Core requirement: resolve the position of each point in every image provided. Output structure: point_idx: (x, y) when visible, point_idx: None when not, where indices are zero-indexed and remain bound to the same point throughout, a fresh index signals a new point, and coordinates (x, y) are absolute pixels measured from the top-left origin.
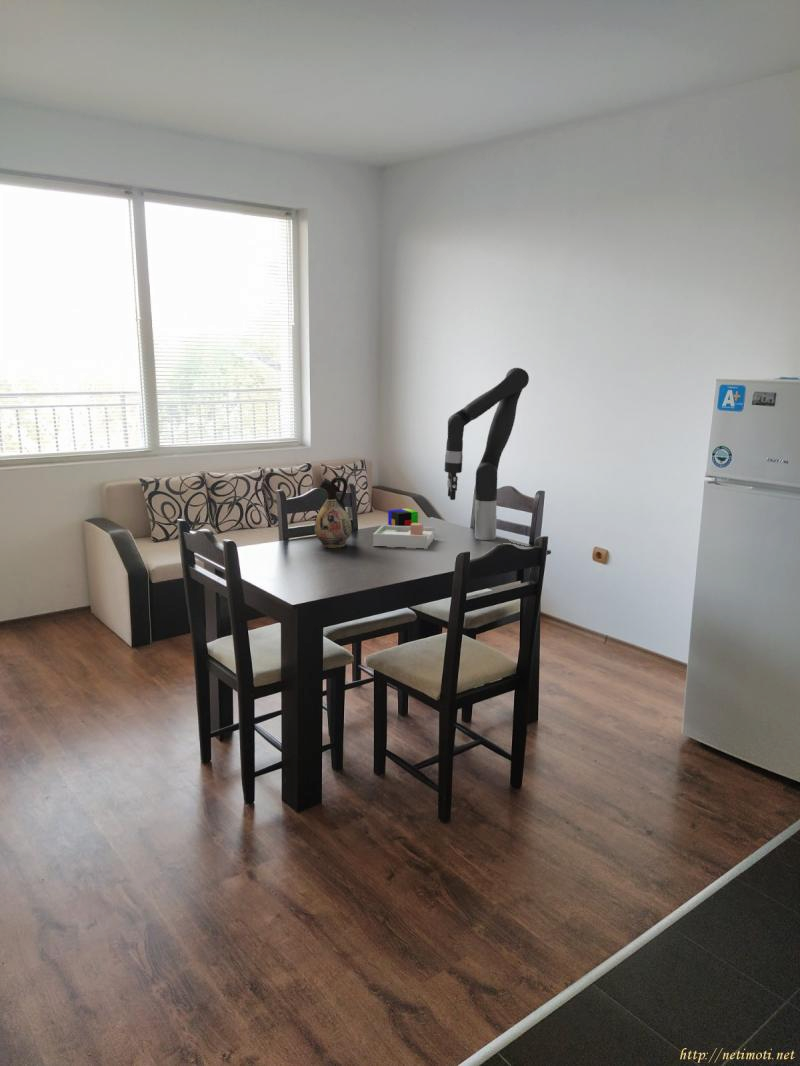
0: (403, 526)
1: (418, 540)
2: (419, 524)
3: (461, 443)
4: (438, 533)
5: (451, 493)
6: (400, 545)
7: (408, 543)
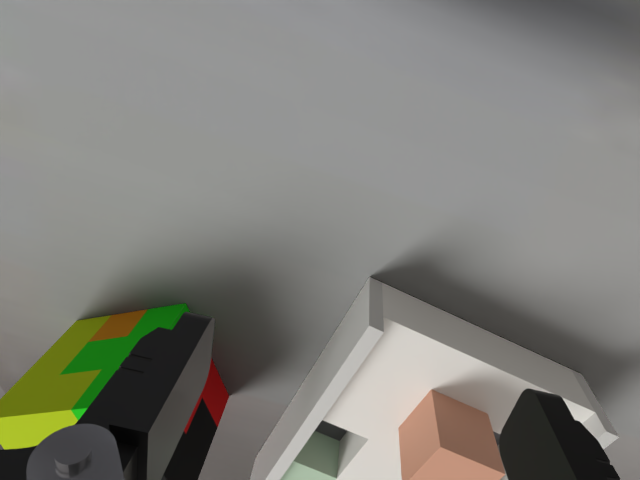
0: (296, 455)
1: None
2: (472, 472)
3: None
4: (205, 196)
5: None
6: None
7: None
